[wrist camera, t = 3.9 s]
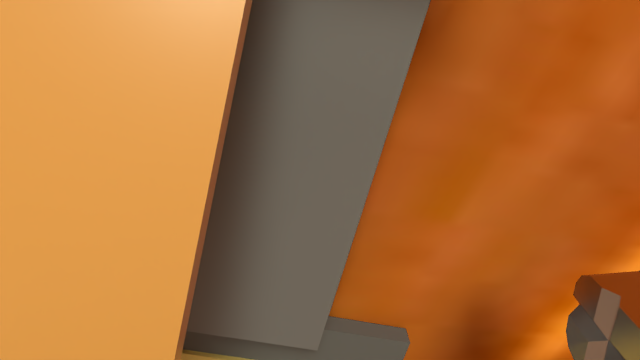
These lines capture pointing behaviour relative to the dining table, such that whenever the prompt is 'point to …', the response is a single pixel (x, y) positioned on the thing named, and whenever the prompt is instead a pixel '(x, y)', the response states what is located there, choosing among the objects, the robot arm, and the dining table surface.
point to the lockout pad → (332, 355)
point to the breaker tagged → (109, 170)
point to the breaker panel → (299, 162)
